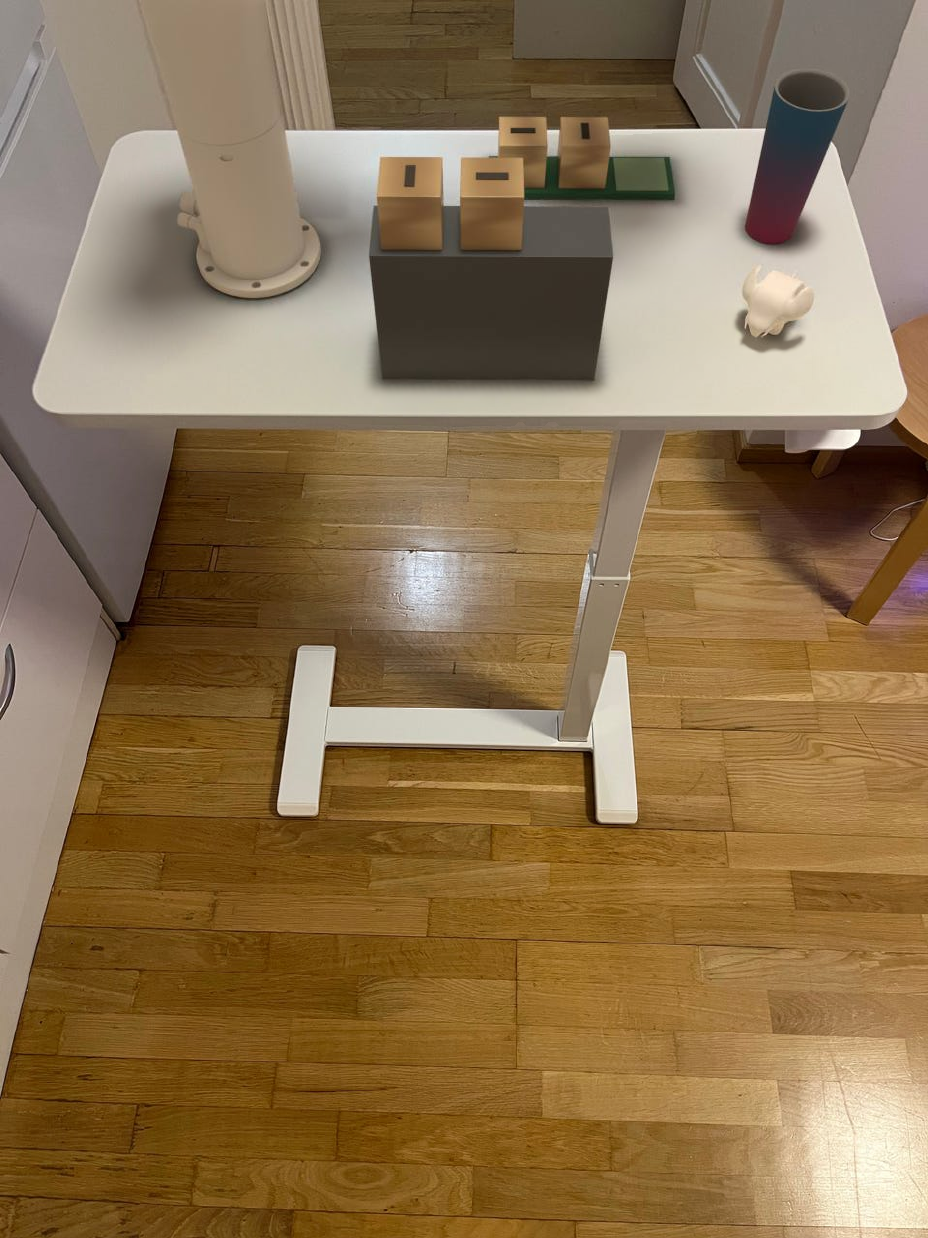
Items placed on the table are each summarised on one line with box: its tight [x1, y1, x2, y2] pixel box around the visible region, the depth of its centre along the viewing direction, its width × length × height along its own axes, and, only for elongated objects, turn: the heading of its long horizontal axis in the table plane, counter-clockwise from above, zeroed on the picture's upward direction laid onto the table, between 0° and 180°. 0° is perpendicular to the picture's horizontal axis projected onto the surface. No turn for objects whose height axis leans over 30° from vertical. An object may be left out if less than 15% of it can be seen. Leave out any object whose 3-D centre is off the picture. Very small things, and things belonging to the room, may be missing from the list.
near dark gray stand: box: [368, 156, 614, 381], centre depth 85 cm, size 20×6×19 cm, turn 89°
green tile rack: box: [488, 116, 676, 201], centre depth 104 cm, size 20×6×6 cm, turn 89°
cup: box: [744, 67, 851, 245], centre depth 96 cm, size 7×7×15 cm
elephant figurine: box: [741, 264, 815, 338], centre depth 92 cm, size 7×8×6 cm
